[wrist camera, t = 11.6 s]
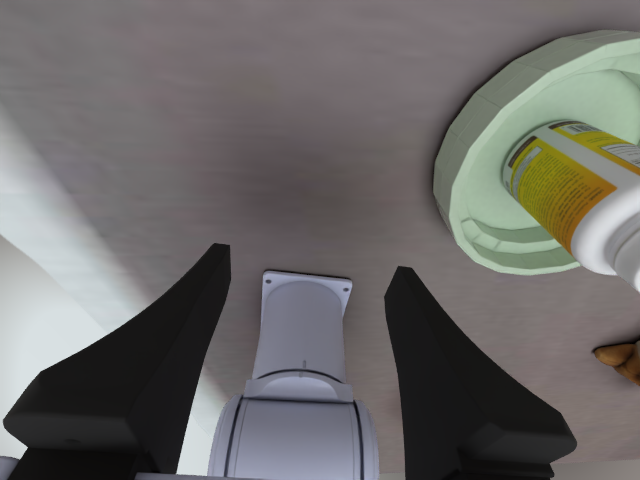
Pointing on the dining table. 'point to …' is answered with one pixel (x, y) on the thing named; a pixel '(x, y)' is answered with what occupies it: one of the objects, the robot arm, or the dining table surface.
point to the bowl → (514, 125)
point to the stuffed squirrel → (622, 359)
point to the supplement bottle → (582, 193)
